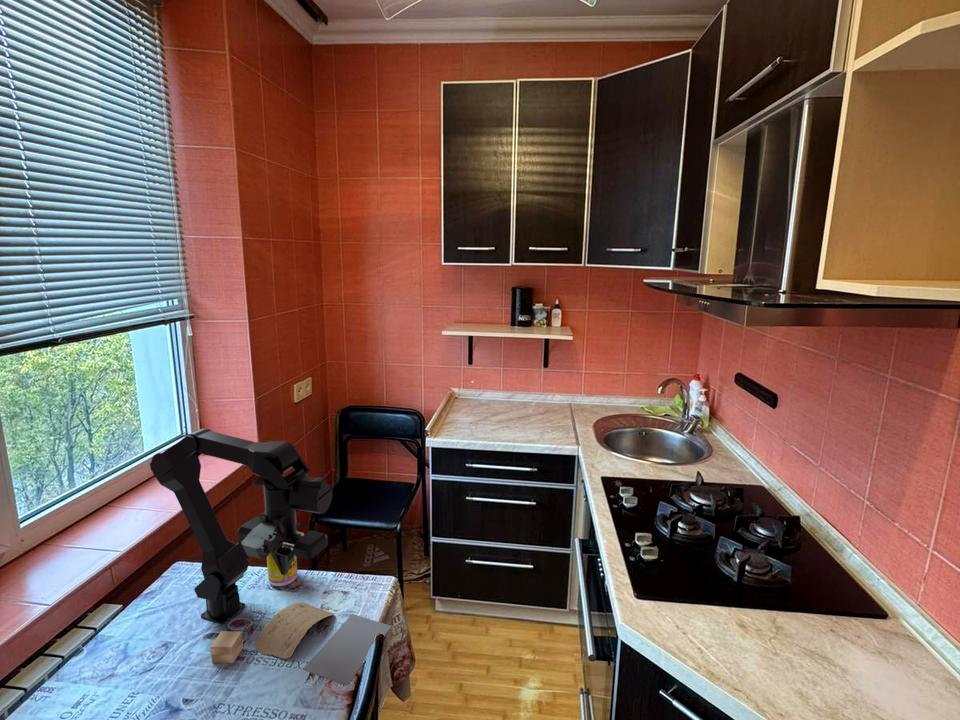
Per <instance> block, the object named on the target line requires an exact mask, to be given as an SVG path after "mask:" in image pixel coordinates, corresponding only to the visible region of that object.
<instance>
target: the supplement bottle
mask: <svg viewBox="0 0 960 720" xmlns="http://www.w3.org/2000/svg"><path fill="white" fill-rule="evenodd" d="M297 559H298V557H296V555H295V557H294V559H293V562H292V564H291V566H290V569H289V571H288V573H287V574H286V575H282V574H281V573H280V571H279V569H278V567H277V565H276V563H275V561H274V559H273V557H272V555H271V554H270V553H269V555H268V556H267V557H266V566H267V567H266V568H267V577H268V583H269V584H270V585H271V586H273V587H284V586H288V585H289V584H292V583H293V582H294V581H295V580H296V578H297V577H298V563H297Z"/></svg>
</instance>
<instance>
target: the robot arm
mask: <svg viewBox="0 0 960 720" xmlns="http://www.w3.org/2000/svg"><path fill="white" fill-rule="evenodd" d="M201 455H205V456H208V457H213V458H216V459H221V460H224V461H228V462H233V463H236V464H241V465H243V466H246V467H248V469H249V471H251V473H252V474H254V475H256V476H259V477H258V478H256V479H255V480H254V481H253V485H255V486H260V487H261V486H262V487H263V494H264V496H263V498H264V509H265V510H264V511H263V512H261V513H260V516H255V517H253V518H251V519H250V520H249V521H246V522H245V523H243V524H242V525H240V526H239V528H238V529H237V541H239V542H237V543H234V542H233V541H231V540H229V539H228V537H227V536H226V533H225V532H224V529H223V528H222V526H221V523H220V521H219V519H218V517H217V514H216V513H215V510H214V509H213V507H212V506H213V505H212V504H211V502H210V500H209V498H208V496H207V493H206V492H205V489H204V488H203V485H202V483H201V481H200V477H201V469H202V468H201V467H202V464H201V461H200V456H201ZM149 467H150V468H149V469H150V470H151V472H152V474H153V475H154V477H155V478H156V480H157V482H158V483H159V484H160V485H161V486H162V487H164V488H165V489H167V490H169V491H171V492H173V494H174V495H175V497H176V499H177V502H178V504H179V505H180V507H181V509H182V512H183V514H184V516H185V518H186V520H187V522H188V524H189V526H190V529H191V531H192V533H193V534H194V537H195V539H196V541H197V543H198V545H199V547H200V548H201V549H200V550H201V552H202V559H201V565H200V566H201V567H200V570H201V572H202V573H201V574H202V575H203V580H201V582H200V583H198V584H197V585H196V586H195V588H194V589H193V590H194V592H195V595H196V597H197V598H198V599H203V600H205V608H206V610H205V611H204V612H202V613H201V614H200V617H201V618H202V619H205V620H208V621H210V622H212V623H216V624H218V625H224V624H225V623H227V622H228V621H229V620H231V618H233V617H234V616H235V615H236V614H238V613H239V612H240V611H242V610H243V609H244V608H245V607H246V603H244V602H242V601H241V598H240V593H239V587H238V585H237V583H238V581H239V580H241V579H242V578H243V577H244V575H245V573H246V572H247V571H248V568H249V565H250V564H249V560H248V559H250V557H253V558H256V559H258V560H264V559H267V556H268V555H269V553H270V554H271V555H272V557H273V559H274V561H275V563H276V565H277V567H278V569H279V571H280V573H281V574H282V575H286V574H287V573H288V571H289V569H290V566H291V564H292V562H293V559H294V557H295V555H296V558H298V559H303V560H307V561H308V560H312V559H314V558H315V557H316V556H317V555H319V553H321V552H322V551H323V550H325V548H327V547H329V537H328V534H326V533H323V532H320V531H315V530H309V531H307V532H306V533H304V532H301V531H299V530H300V529H302V523H300V522H297V513H298V512H299V511H303V512H309V513H315V514H320V515H321V514H325V513H326V512H327V511H328V510H329V507H330V506H331V504H332V500H333V489H332V487H331V484H329V483H327V481H326V480H327V479H326V478H325V477H315V476H314V477H313V476H308V474H309V473H310V472H311V471H310V469H309V467H308V466H307V464H306V463H305V462H304V460H303V459H302V457H301V456H300V455H299V453H298V451H297V450H296V448H295V446H294V445H293V444H292V443H290V442H289V441H279V440H277V441H276V440H270V441H262V442H261V441H258V442H256V441H252V440H248V439H244V438H241V437H236V436H232V435H228V434H223V433H219V432H215V431H212V430H211V429H209V428H200V429H198V430H196V431H193V432H191V433H189V434H186V435H185V436H184V437H183V438H182V439H181V440H179V441H178V442H176V443H175V444H174V445H172V446H170V447H168V448H166V449H165V450H162V451H160V452H157V453H155V454H154V455H153V456H152V457H151V462H150V463H149ZM291 469H294V470H293V471H292V472H290V473H289V474H287V475H285V473H287V472H288V471H290V470H291Z"/></svg>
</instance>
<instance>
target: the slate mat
mask: <svg viewBox="0 0 960 720" xmlns="http://www.w3.org/2000/svg"><path fill="white" fill-rule="evenodd" d="M391 628H393V626H392V625H390V624H387V623H383V622H380V621H377V620H374V619H370V618H367V617H364V616H360V615H357V614H354V613H352V614H350V616H349V617H348V618H347V619H346V620H345V621H344V622H343V624H341V625H340V627H339V628H338V629H337V630H336V631H335V632H334V633H333V635H332V636H331V637H330V638H329V639H328V640H327V641H326V642H325V643H324V644H323V646H322V647H321V648H320V649H319V650H318V651H317V652H316V654H314V656H313V657H312V658H311V659H310V660H309V661H308V662H307V663H306V665H304V667H303V668H302V670H303V671H306V672H307V673H308V672H309V673H311V674H314V675H316V676H319V677H321V678H324V679H327V680H329V681H330V680H331V681H333V682H336V683H338V684H341V685H344V686H348V685H349V683H351V681H352V680H353V679H354V678H355V676H356V675H357V673H358V672H359V671H360V670H361V668H362V667H363V666H362V665H364V664H363V661H364V658H365V656H366V654H367V653H368V651H369V649H370V647H371V645H372V642H373V639H374V635H376V634H378V633H380V634H383V635H384V638H385V636H387V634H388V633H389V632H390V630H391Z"/></svg>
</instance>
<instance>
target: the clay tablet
mask: <svg viewBox="0 0 960 720" xmlns="http://www.w3.org/2000/svg"><path fill="white" fill-rule="evenodd" d="M333 615H335V613H333V612H330V611H327V610H323V609H322V608H319V607H317V606H314V605H310V604H308V603H305V602H294V603H292V604H289V605H287V606H285V607H284V608H282V609H281V610H279V611H278V612H277V613H276V614H275V615H274V616H273V617H272V618H271V619H270V620H269V621H268V622H267V624H266V625H265V626H264V627H263V629H262V631H261V632H260V634H259V636H257V639H256V641H255V642H254V643H253V644H254V649H255V650H256V651H257V652H259V653H261V654H262V655H264V656H266V655H270V656H275V657H277V658H280V659H290V658H291V656H292V655H293V653H294V651H295V650H296V647H297V646H298V645H299V644H300V642H301V640H302V638H304V636H305V635H306V634H307V631H308V630H309V629H311V628H312V626H313V625H315V624H316V623H318V622H319V621H321V620H323V619H325V618H327V617H330V616H333Z"/></svg>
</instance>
